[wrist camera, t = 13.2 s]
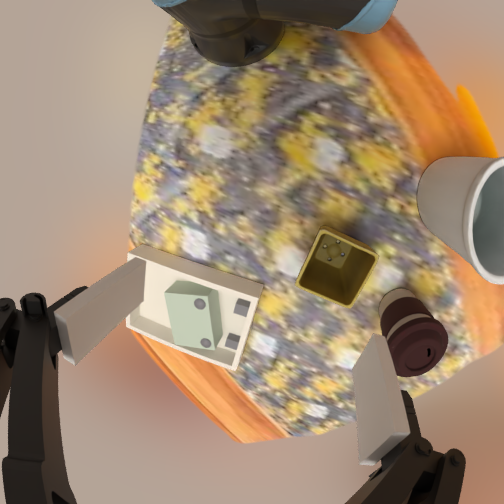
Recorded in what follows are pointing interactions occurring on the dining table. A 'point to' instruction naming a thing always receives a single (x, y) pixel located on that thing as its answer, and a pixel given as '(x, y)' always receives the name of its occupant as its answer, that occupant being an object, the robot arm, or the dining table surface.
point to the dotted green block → (194, 315)
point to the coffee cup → (411, 333)
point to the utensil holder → (467, 210)
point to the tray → (177, 268)
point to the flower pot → (336, 267)
